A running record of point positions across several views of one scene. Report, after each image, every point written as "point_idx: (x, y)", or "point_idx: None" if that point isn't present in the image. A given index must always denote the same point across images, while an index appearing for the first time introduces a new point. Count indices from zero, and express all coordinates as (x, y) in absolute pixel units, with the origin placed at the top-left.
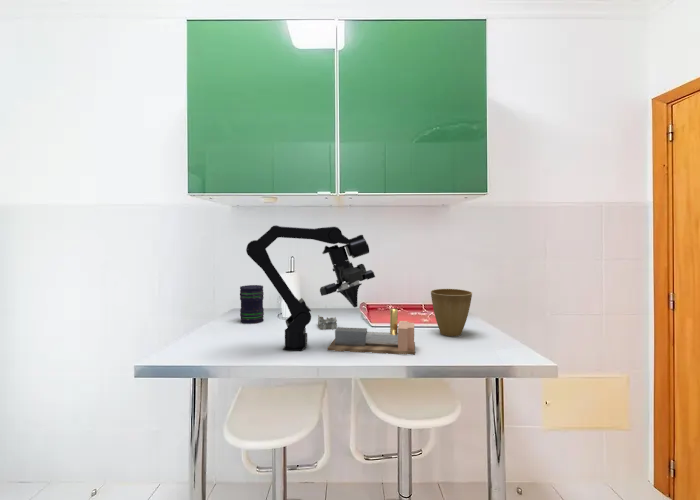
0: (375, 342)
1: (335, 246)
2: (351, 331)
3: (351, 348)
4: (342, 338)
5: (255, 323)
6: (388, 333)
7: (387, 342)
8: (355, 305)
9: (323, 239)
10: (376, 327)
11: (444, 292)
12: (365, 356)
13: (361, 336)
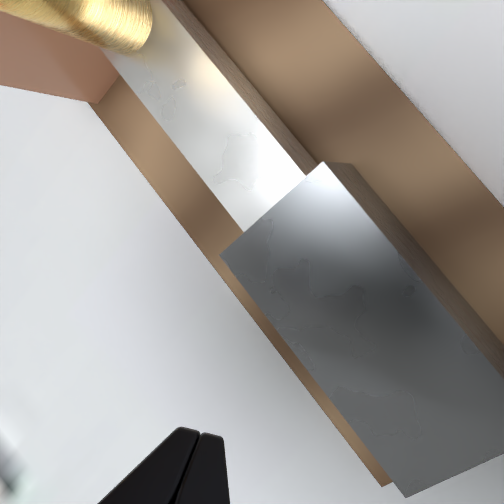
0: (275, 117)
1: None
2: (420, 279)
3: (483, 195)
4: (481, 333)
5: None
6: (148, 59)
7: (215, 43)
8: (205, 453)
9: None
10: (5, 454)
11: None
12: (490, 15)
13: (358, 190)
